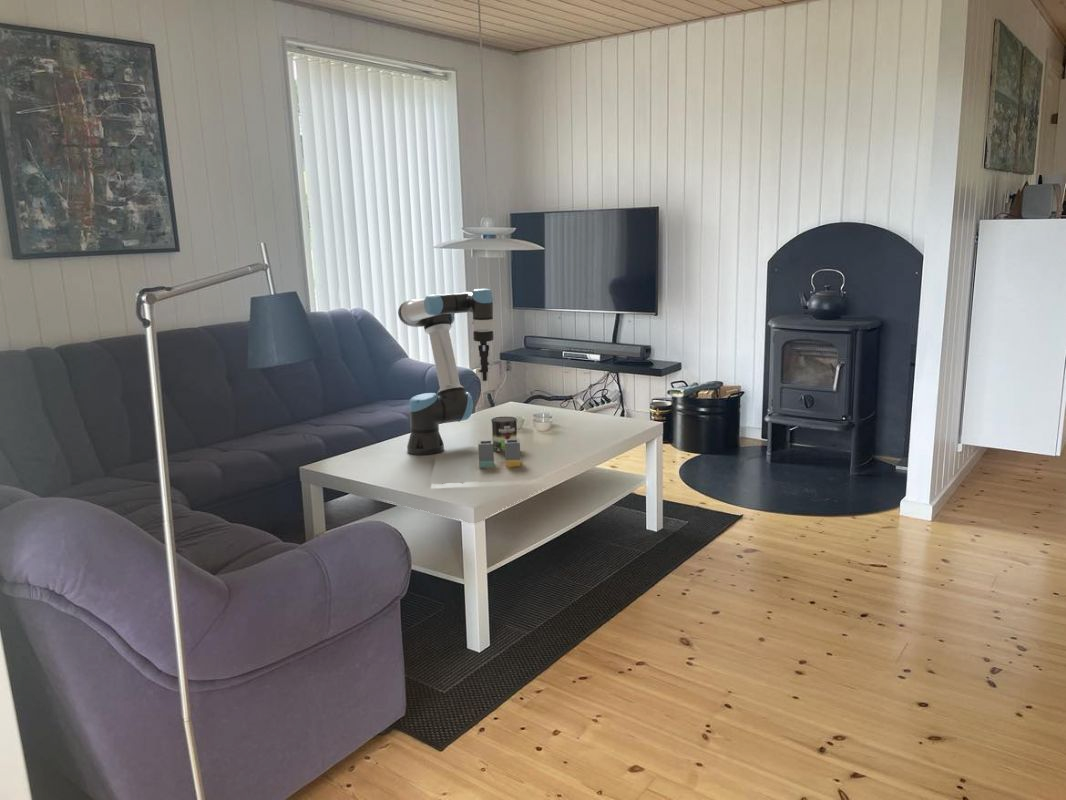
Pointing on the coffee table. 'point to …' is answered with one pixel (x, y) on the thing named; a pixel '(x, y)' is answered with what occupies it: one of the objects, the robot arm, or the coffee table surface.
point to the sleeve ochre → (512, 453)
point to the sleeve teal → (486, 454)
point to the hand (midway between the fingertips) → (484, 385)
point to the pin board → (499, 465)
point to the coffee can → (503, 431)
